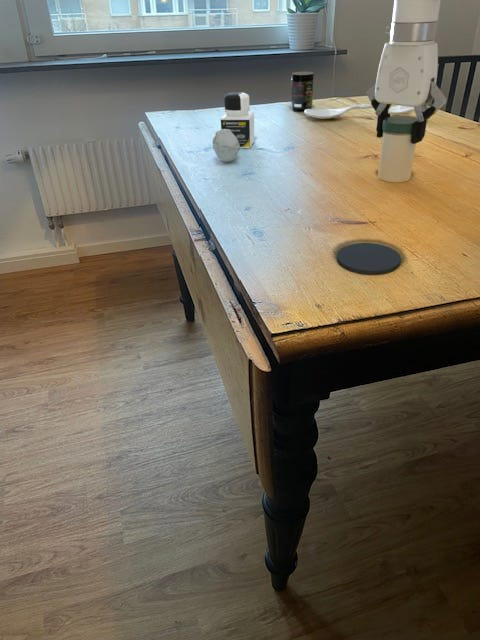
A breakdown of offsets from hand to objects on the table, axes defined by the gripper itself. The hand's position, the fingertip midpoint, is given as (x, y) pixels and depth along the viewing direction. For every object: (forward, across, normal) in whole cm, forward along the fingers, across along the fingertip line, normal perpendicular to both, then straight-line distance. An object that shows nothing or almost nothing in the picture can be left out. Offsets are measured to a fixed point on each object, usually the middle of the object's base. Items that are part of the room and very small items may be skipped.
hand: (399, 138), depth 97 cm
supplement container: (+8, -57, +39) cm, 69 cm away
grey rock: (+8, -35, -14) cm, 38 cm away
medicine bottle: (+8, -43, -2) cm, 44 cm away
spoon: (+8, -36, +40) cm, 55 cm away
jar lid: (-3, 0, 0) cm, 3 cm away
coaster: (+8, +16, -34) cm, 38 cm away
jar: (+8, 0, 0) cm, 8 cm away
